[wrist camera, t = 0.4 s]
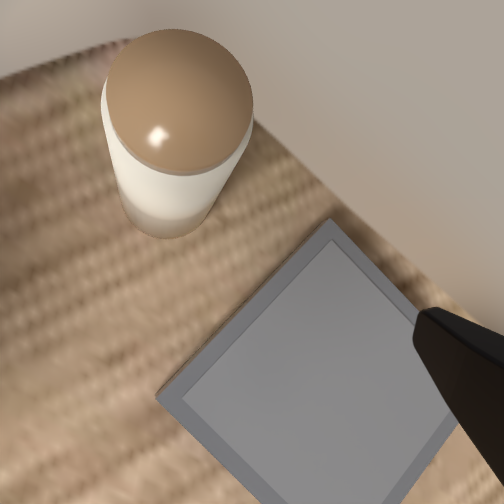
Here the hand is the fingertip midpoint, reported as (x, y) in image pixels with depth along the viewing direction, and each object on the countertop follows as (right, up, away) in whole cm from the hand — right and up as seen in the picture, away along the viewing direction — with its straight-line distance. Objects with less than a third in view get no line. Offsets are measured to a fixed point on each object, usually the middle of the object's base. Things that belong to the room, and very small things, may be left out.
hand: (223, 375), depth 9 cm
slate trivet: (+4, -4, +14) cm, 15 cm away
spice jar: (-4, +5, +13) cm, 15 cm away
